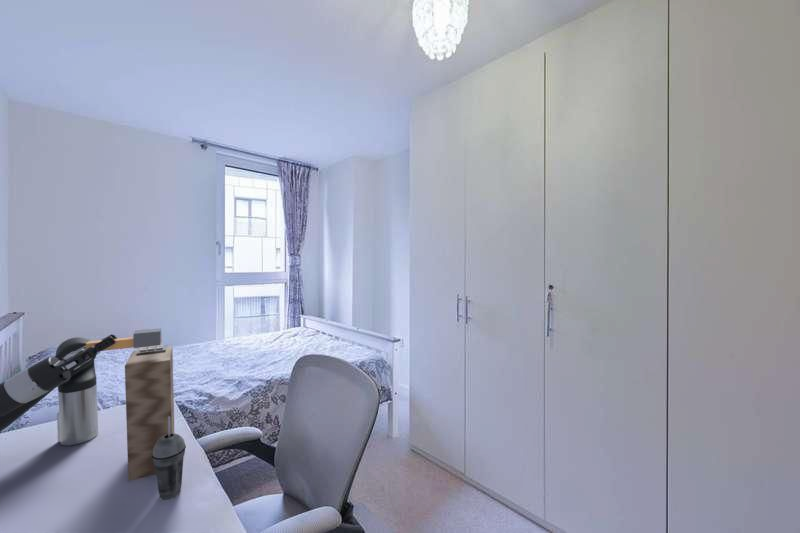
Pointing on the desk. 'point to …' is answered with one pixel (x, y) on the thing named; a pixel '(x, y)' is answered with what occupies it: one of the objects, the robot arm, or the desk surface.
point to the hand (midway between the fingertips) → (114, 338)
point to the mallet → (134, 340)
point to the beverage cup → (169, 464)
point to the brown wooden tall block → (148, 405)
